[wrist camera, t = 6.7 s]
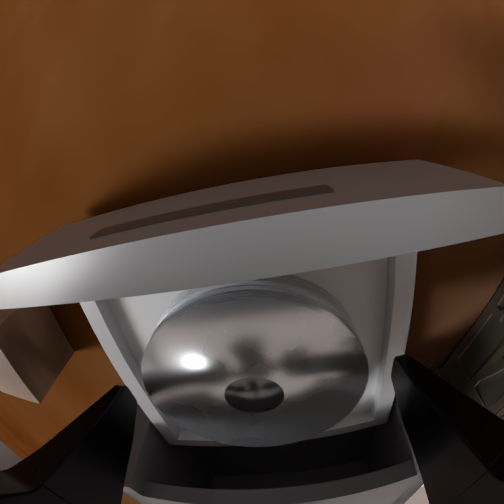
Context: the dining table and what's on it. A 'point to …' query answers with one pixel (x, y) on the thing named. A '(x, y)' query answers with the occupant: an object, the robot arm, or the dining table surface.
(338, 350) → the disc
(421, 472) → the robot arm
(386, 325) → the tray
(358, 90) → the dining table surface
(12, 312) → the walnut block
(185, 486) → the grey drawer cabinet
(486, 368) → the radio
